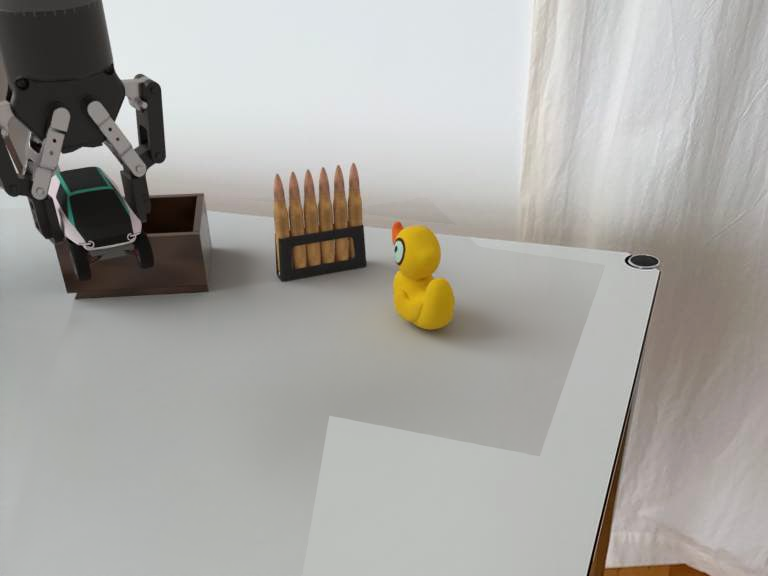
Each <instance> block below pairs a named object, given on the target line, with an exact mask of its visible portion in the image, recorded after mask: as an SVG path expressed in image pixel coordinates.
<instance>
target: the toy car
mask: <svg viewBox="0 0 768 576" xmlns="http://www.w3.org/2000/svg"><path fill="white" fill-rule="evenodd" d="M48 194H49V195H50V196H51V197H52V198H53V201H54V205H55V208H56V212H57V216H58V220H59V224H60V228H61V232H62V236H65V237H66V239H67V241H68V242H69V243H70V245H68V250H69V255H70V259H71V262H72V266H73V269H74V272H75V274H76V277H77V279H78V281H87V280H90V279H92V275H91V270H90V265H92V264H93V263H95V262H97V261H98V260H105V259H110V258H115V257H120V256H125V255H130V256H136V259H137V261H138V264H139V266H140V268H141V269H148V268H151V267H153V266H154V257H153V252H152V248H151V244H150V241H149V239H148V236H147V235H146V232H145V231H141V227H142V225H141V221H140V220H139V219H138V218H137V216H136V215H135V214H134V213H133V211H132V210H131V208H130V207H129V205H128V204H127V202H126V201H125V199H124V198H123V197H124V196H123V195H122V194H121V192H120V189H119V187H118V185H117V184H116V182H115V181H114V180H113V179H112V178H111V177H110V176H109V175H108V174H107V173H106V172H105V171H104V170H103V169H102V168H101V167H99V166H86V167H79V168H74V169H73V168H72V169H67V170H66V169H65V170H61V172H59V173H57V174H56V175H54V176H53V177H52V178H51V183H50V187H49V191H48ZM123 250H124V251H126V252H129V253H131V254H128V253H125V252H124V251H123ZM128 250H129V251H128ZM133 250H134V251H133ZM130 251H132V252H130ZM85 252H86V253H85ZM88 252H90V254H91V255H88ZM89 256H90V257H89ZM95 256H97V257H99V258H98V259H96V260H95V261H93V262H92V260H93V259H94V258H95ZM88 260H90V261H89V262H88Z"/></svg>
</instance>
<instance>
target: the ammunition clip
mask: <svg viewBox="0 0 768 576" xmlns="http://www.w3.org/2000/svg"><path fill="white" fill-rule="evenodd" d="M349 170H350V171H349V176H348V198H346V189H345V188H346V187H345V178H344V174H343V170H342V168H341V166H340V165H339V164H337V165H336V167H335V171H334V176H333V177H334V179H333V201H332V200H331V192H330V191H331V190H330V181H329V177H328V174H327V171H326V168H325V167H324V166H321V169H320V171H319V178H318V204H317V199H316V198H317V197H316V191H315V190H316V189H315V184H314V179H313V177H312V172H311V171H310V169H306V171H305V174H304V179H303V207H302V200H301V192H300V186H299V182H298V178H297V175H296V173H295V171H291V172H290V176H289V180H288V208H287V202H286V197H285V189H284V185H283V181H282V178H281V176H280V174H279V173H276V174H275V177H274V181H273V223H274V247H275V266H276V267H275V269H276V271H275V272H276V276H277V277H278V279H279V280H280V281H281V282H287V281H293V280H299V279H304V278H305V279H306V278H309V277H315V276H322V275H326V274H333V273H338V272H339V273H340V272H345V271H349V270H355V269H360V268H366V267H367V265H368V264H367V253H366V242H365V241H366V240H365V227H364V225H363V202H362V196H361V188H360V175H359V172H358V168H357V166H356V164H355V162H352V163H351V166H350V169H349Z"/></svg>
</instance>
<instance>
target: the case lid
mask: <svg viewBox="0 0 768 576" xmlns="http://www.w3.org/2000/svg"><path fill="white" fill-rule="evenodd" d="M7 88H8V83H7V77H6V74H5V70H4V67H3V63H2V59H1V55H0V102H1V101H5V100H6V94H7ZM28 133H29V130H28V129H27V128H26V127H25V126H24V125H23V124H22V123H21V122H19V121H18V120H17V119H16V118H15V117H13V118H11V119H10V121H9V135H8V136H7V137H6V138H4V142H5V145H6V147H7V150H8V152H9V155H10V157H11V160H12V163H13V165H14V167H15V169H16V171H17V172H18V173H19V174H22V172H23V168H24V163H25V158H26V156H25V146H26V142H27V137H28ZM36 141H37V140H36ZM50 153H51V152H50ZM59 172H62V170H61V168H60V165H59V164H58V165H57V169H56V170H55V171H54V172H53V174H52V177H53V176H54V175H56V174H57V173H59Z"/></svg>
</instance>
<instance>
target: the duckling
mask: <svg viewBox="0 0 768 576" xmlns="http://www.w3.org/2000/svg"><path fill="white" fill-rule="evenodd" d="M391 240H392V245H393V255H394V260H395V264H396V265H397V268H398V269H399V270H397V272H396V273H395V275H394V279H393V282H392V291H393V306H394V308H395V311H396V313H397V314H398V315H399V316H400V317H401V318H402V319H403V320H404V321H405V322H411V323H412V324H414V325H415V326H416V327H418V328H420V329H423V330H438V329H441V328H443V327H445V326H447V325H448V324H450V323H451V321H452V319H453V317H454V311H455V310H454V309H455V302H456V297H455V295H454V294H455V293H454V290H453V288H452V286H451V284H450V282H449V280H447V279H446V278H444V277H437V278H434V276H433V274H434V273H435V272H436V271H437V269H438V268H439V266H440V263H441V258H442V250H441V245H440V242H439V240H438V238H437V236H436V234H435V232H433V231H432V230H431V229H430V228H428V227H427V226H424V225H410V226H406V227H404V226H403V224H402V223H401V221H395V222H393V225H392V228H391Z"/></svg>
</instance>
